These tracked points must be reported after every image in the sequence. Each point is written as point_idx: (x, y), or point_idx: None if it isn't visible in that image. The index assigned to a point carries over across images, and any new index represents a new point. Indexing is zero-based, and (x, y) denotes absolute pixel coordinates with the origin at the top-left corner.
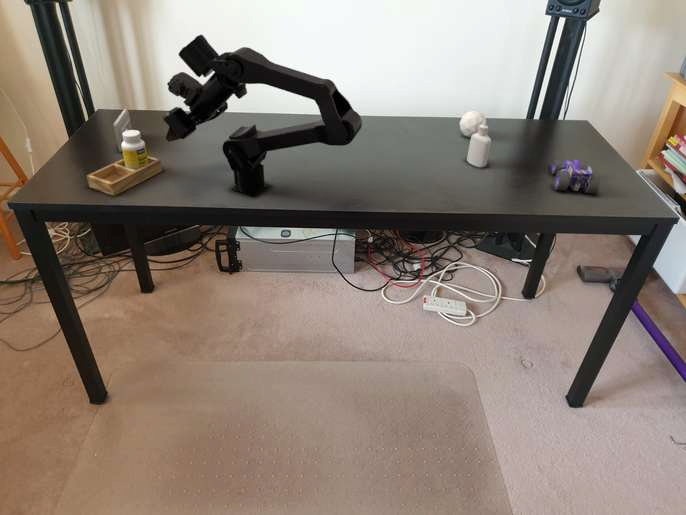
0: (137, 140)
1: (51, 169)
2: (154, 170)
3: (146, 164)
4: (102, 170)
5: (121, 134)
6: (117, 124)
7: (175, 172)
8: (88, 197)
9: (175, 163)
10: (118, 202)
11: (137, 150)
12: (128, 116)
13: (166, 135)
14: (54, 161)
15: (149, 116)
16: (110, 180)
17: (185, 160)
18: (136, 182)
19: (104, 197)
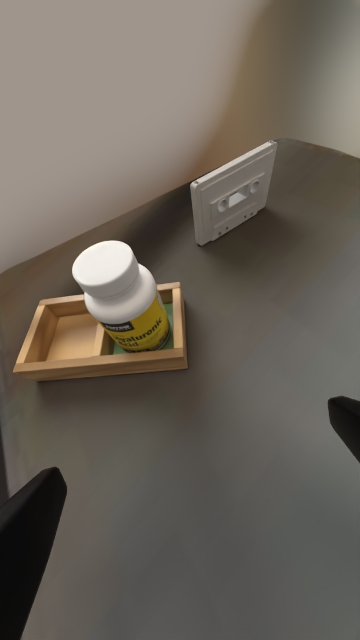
0: (103, 298)
1: (92, 234)
2: (158, 367)
3: (143, 347)
4: (72, 302)
5: (209, 211)
6: (199, 186)
7: (203, 405)
8: (21, 345)
9: (241, 361)
10: (12, 414)
11: (102, 323)
12: (266, 165)
13: (4, 503)
14: (114, 218)
15: (340, 169)
16: (85, 325)
17: (275, 368)
18: (98, 374)
19: None
